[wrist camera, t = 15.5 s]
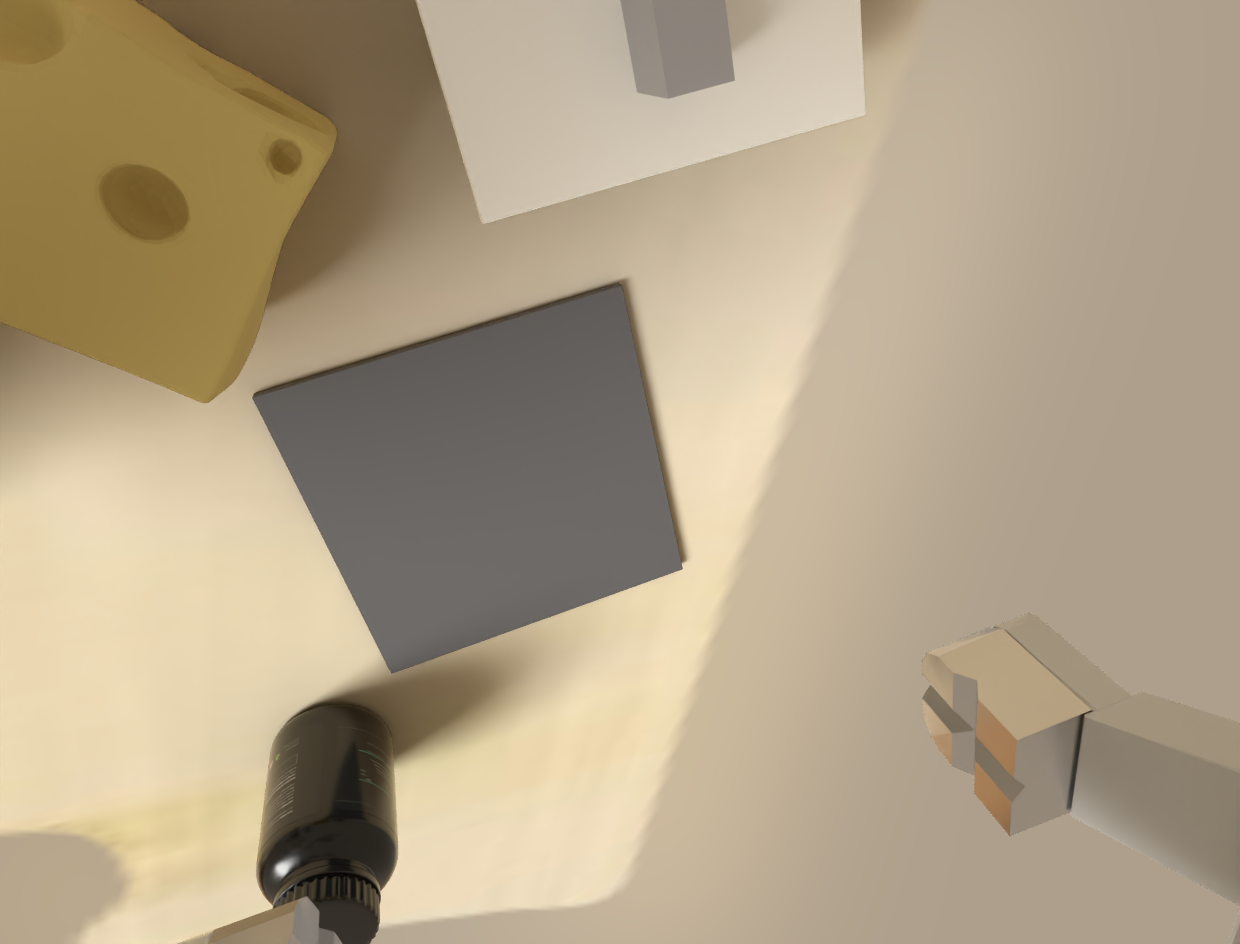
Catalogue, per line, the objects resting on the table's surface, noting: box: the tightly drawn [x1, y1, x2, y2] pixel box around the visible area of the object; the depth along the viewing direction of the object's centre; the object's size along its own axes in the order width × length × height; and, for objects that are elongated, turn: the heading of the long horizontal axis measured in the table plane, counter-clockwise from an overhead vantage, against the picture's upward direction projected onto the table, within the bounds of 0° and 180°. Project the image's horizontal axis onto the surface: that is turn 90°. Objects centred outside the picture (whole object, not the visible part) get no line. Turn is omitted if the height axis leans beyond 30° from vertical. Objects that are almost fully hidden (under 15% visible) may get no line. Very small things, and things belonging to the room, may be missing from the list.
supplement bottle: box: [256, 704, 398, 944], centre depth 43 cm, size 7×7×12 cm
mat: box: [253, 283, 683, 674], centre depth 43 cm, size 18×18×1 cm
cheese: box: [0, 0, 337, 403], centre depth 28 cm, size 10×11×10 cm
